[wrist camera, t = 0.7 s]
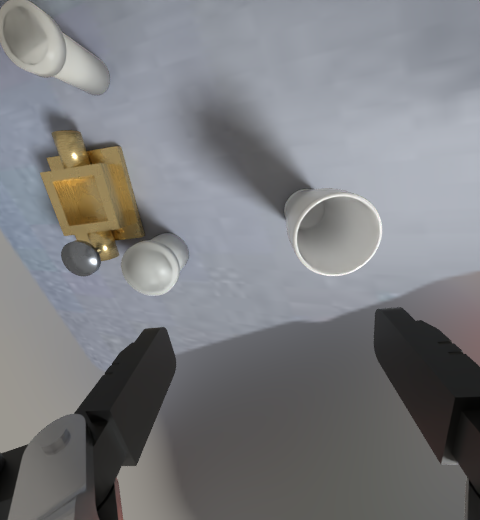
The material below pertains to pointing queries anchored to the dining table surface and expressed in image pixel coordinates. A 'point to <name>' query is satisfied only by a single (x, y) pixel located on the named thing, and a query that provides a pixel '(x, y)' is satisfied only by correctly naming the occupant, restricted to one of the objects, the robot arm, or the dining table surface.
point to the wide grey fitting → (155, 264)
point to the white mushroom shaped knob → (48, 48)
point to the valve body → (90, 201)
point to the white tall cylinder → (332, 230)
